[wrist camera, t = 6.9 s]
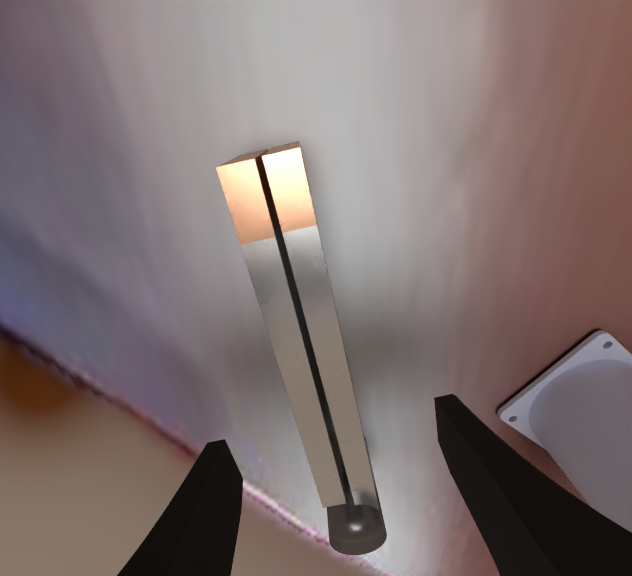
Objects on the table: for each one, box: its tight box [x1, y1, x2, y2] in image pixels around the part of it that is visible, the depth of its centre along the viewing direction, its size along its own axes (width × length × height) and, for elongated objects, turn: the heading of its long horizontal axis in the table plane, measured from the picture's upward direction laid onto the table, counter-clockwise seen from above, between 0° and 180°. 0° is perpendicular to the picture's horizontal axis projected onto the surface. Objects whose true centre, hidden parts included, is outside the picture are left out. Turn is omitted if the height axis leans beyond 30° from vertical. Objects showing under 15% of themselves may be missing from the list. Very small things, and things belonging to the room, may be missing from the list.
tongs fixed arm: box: [262, 142, 387, 555], centre depth 17 cm, size 20×3×6 cm, turn 13°
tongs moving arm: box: [216, 149, 346, 508], centre depth 16 cm, size 17×1×5 cm, turn 12°
